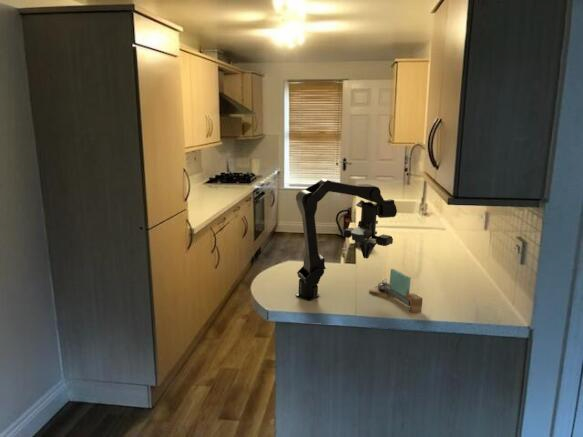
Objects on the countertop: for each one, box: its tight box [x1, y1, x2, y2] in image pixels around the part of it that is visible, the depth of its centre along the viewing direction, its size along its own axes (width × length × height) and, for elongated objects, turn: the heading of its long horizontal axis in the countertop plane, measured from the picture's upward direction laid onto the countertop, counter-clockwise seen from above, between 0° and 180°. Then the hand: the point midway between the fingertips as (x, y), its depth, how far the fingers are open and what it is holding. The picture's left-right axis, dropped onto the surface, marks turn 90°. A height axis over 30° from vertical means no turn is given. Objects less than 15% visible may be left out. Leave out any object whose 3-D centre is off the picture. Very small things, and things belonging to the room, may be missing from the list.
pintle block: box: [368, 285, 393, 300], centre depth 174 cm, size 8×8×1 cm
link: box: [377, 268, 411, 307], centre depth 167 cm, size 19×4×10 cm, turn 24°
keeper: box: [405, 292, 424, 315], centre depth 159 cm, size 5×4×5 cm
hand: (365, 258), depth 174 cm, fingers closed
